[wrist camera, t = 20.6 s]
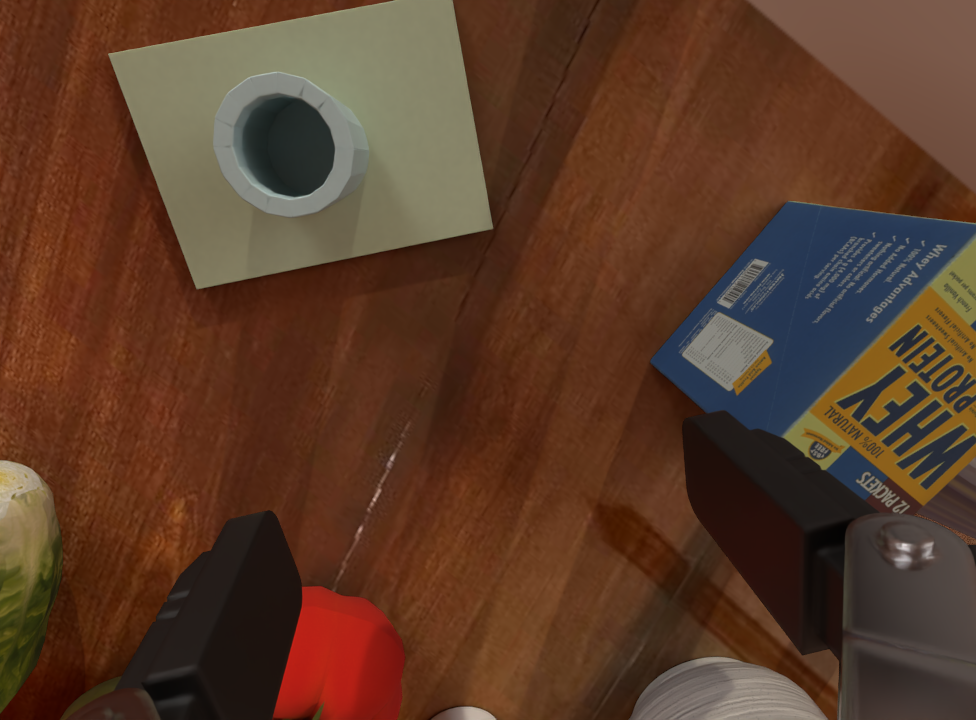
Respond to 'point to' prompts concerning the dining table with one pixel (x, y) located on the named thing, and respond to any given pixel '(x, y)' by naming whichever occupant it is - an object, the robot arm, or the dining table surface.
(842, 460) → the protein box
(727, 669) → the vase
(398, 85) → the mat
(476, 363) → the dining table surface
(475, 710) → the mug
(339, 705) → the tomato
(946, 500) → the decorative object
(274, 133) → the cylindrical container
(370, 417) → the dining table surface
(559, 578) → the dining table surface
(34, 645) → the lettuce
